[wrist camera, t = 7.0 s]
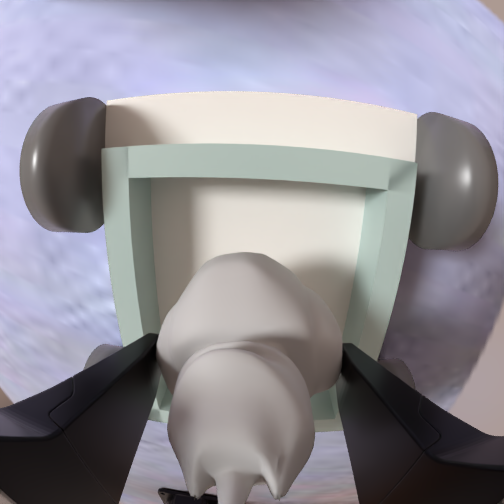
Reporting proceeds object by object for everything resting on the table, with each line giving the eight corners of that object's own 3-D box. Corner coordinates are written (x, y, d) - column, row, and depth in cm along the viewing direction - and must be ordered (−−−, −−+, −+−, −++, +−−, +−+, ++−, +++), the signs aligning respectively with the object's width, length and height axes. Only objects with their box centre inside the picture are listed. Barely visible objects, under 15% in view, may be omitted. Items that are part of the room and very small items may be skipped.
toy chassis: (368, 403, 16) (389, 465, 11) (128, 391, 16) (100, 450, 11) (428, 124, 11) (501, 119, 6) (94, 109, 11) (21, 99, 6)
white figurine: (320, 222, 9) (461, 424, 2) (328, 377, 12) (365, 554, 4) (159, 245, 10) (-2, 424, 2) (201, 389, 12) (164, 559, 4)
